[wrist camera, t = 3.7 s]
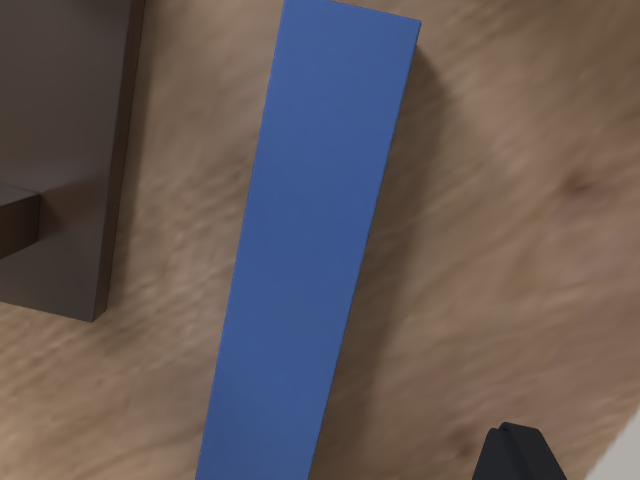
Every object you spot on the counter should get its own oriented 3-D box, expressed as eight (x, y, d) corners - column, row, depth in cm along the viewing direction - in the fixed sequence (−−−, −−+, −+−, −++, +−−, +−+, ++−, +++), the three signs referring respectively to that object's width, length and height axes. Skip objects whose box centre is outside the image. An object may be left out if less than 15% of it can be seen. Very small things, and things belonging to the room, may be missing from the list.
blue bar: (410, 33, 16) (422, 20, 13) (296, 500, 20) (285, 573, 17) (299, 9, 16) (285, -11, 13) (208, 480, 20) (181, 549, 17)
